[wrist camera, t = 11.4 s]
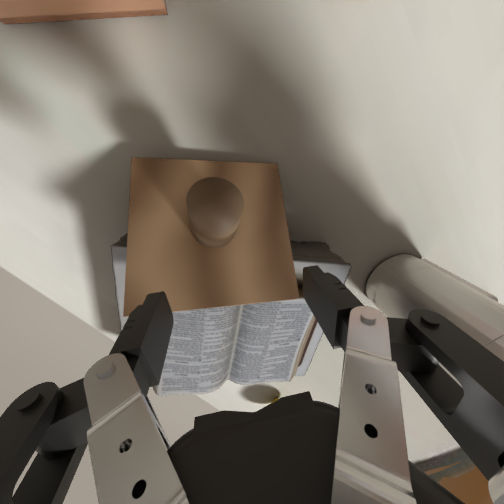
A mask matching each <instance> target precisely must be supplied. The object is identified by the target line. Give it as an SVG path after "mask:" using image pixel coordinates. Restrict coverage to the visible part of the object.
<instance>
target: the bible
mask: <svg viewBox="0 0 504 504" xmlns="http://www.w3.org/2000/svg"><path fill="white" fill-rule="evenodd" d="M127 236H128V233H127V234H126V235H124V236H123V237H121V238H120V240H119V241H118V242H117V243H115V244H113V245H112V246H111V252H112V264H113V272H114V278H115V290H116V299H117V303H118V312H119V319H120V331H121V330H123V327H124V325H125V323H126V321H127V319H128V317H123V310H124V291H125V273H126V254H127ZM290 244H291V250H292V256H293V262H294V268H295V274H296V280H297V287H298V293H299V299H294V300H284V301H275V302H265V303H256V304H246V305H236V306H227V307H217V308H207V309H198V310H188V311H178V312H172V313H173V318H174V324H173V329H172V333H171V337H170V341H169V345H168V349H167V354H166V358H165V362H164V366H163V370H162V375H161V379H160V383H159V385H156V386H152V387H153V390H154V391H155V393H156V394H157V395H158V396H167V395H180V394H206V393H210V392H213V391H215V390H217V389H219V388H220V387H221V386H222V385H223V383H224V382H225V381H226V380H231V381H232V382H234V383H236V384H240V385H253V384H259V383H268V382H289V381H291V379H292V378H293V377H294V376H304V375H305V374H306V371H307V369H308V367H309V365H310V363H311V361H312V358H313V356H314V353H315V351H316V349H317V346H318V344H319V342H320V339H321V337H322V335H323V330H322V328H321V327H320V325H319V323H318V322H317V320H316V318H315V317H314V315H313V313H312V311H311V310H310V308H309V306H308V305H307V303H306V301H305V299H304V296H303V268H304V267H309V266H315V265H318V266H319V267H320V268H321V270H322V271H323V272H324V273H327V272H329V273H331V274H333V275H334V276H336V277H337V278H338V279H339V280H340V281H341V282H342V284H345V281H346V279H347V276H348V274H349V272H350V269H351V265H350V264H348V263H345V262H344V261H343V260H342V259H341V258H340V257H339V256H337V255H336V254H334V253H332V252H331V251H330V250H329V246H328V245H327V244H326V243H321V242H301V243H299V242H295V241H290Z"/></svg>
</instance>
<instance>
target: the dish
mask: <svg viewBox="0 0 504 504" xmlns="http://www.w3.org/2000/svg"><path fill="white" fill-rule="evenodd" d="M153 15H168V13H167V8H166V3H165V0H0V21H1V22H3V23H4V24H15V23H33V22H50V21H67V20H84V19H101V18H119V17H136V16H153Z"/></svg>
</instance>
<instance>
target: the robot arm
mask: <svg viewBox="0 0 504 504" xmlns="http://www.w3.org/2000/svg"><path fill="white" fill-rule="evenodd" d="M366 294H367V296H368V298H369V299H370V300H371V301H372V302H373V303H374V304H375V305H376V306H377V307H378V308H379V309H380V310H381V311H382V312H383V313H384V314H385V315H386V316H387V317H386V316H385V315H384V314H383V313H382V312H380V311H379V310H377V309H375V308H372V307H368V306H364V305H363V304H362V303H361V302H360V301H359V300H358V299H357V298H356V297H355V296H354V295H353V294H352V293H351V291H350V290H349V289H347V287H346V286H345V285H344V284H342V282H341V281H340V280H339V279H338V278H337V277H336V276H334V275H333V274H331V273H329V272H327V273H324V272H323V271H322V270H321V268H320V267H319V266H318V265H315V266H309V267H304V268H303V296H304V299H305V301H306V303H307V305H308V306H309V308H310V310H311V311H312V313H313V315H314V317H315V318H316V320H317V322H318V323H319V325H320V327H321V328H322V330H323V332H324V334H325V335H326V337H327V339H328V340H329V342H330V344H331V346H332V347H333V349H336V348H341V347H342V349H343V350H344V352H345V353H344V360H343V369H342V378H341V387H340V396H339V403H338V408H337V407H335V406H333V405H330V404H327V403H324V402H319V401H313V400H312V397H311V395H310V392H309V391H308V392H304V393H299V394H295V395H291V396H286V397H282V398H280V399H278V400H277V401H275V402H273V403H271V404H269V405H268V406H266V407H264V408H262V409H260V410H259V411H257V412H237V411H220V412H216V413H212V414H207V415H202V416H198V417H195V421H194V429H192V430H190V431H189V432H187V433H186V434H184V435H183V436H182V437H181V438H180V439H178V440H177V441H176V442H175V443H174V444H173V445H172V446H171V444H170V442H169V440H168V438H167V436H166V434H165V432H164V430H163V428H162V426H161V424H160V422H159V419H158V417H157V415H156V413H155V411H154V409H153V407H152V405H151V403H150V400H149V398H148V397H147V393H148V390H149V387H151V386H156V385H159V383H160V379H161V375H162V370H163V366H164V362H165V358H166V354H167V349H168V345H169V341H170V337H171V333H172V329H173V324H174V318H173V313H172V310H171V307H170V305H169V302H168V299H167V296H166V294H165V292H164V291H161V292H155V293H149V294H148V295H147V296H146V298H145V301H144V303H143V304H142V305H138V306H137V307H136V308H135V309H134V310H133V311H132V312H131V313H130V315H129V317H128V319H127V321H126V323H125V325H124V327H123V330H121V332H120V334H119V336H118V338H117V340H116V342H115V344H114V346H113V348H112V350H111V352H110V354H109V355H108V356H106V357H104V358H102V359H100V360H99V361H97V362H96V363H95V364H94V365H93V366H92V367H91V368H90V369H89V370H88V371H87V373H86V375H85V377H84V378H82V379H80V380H78V381H76V382H73V383H71V384H69V385H67V386H64V387H62V388H60V389H59V387H58V386H57V385H56V384H55V383H53V382H45V383H41V384H39V385H36V386H34V387H33V388H30V389H29V390H27V391H26V392H24V393H23V394H21V395H20V396H19V397H18V398H17V399H15V400H14V401H13V403H11V405H10V406H9V407H8V408H7V409H6V410H5V412H4V413H3V414H2V416H1V417H0V504H62V503H63V501H64V499H65V496H66V494H67V492H68V489H69V487H70V484H71V482H72V480H73V477H74V475H75V472H76V470H77V468H78V466H79V463H80V461H81V458H82V456H83V454H84V451H85V449H86V447H87V444H88V446H89V451H90V457H91V463H92V469H93V474H94V480H95V485H96V491H97V497H98V502H99V504H465V503H463V502H462V501H461V500H460V499H458V498H457V497H455V496H454V495H453V494H451V493H450V492H449V491H448V490H446V489H445V488H444V487H442V486H441V485H440V484H439V483H437V482H436V481H435V480H433V479H432V478H431V477H430V476H428V475H427V474H425V473H424V472H423V471H422V470H420V469H419V468H418V467H417V466H415V465H414V464H413V463H411V462H410V461H409V460H408V455H407V446H406V437H405V429H404V420H403V412H402V403H401V395H400V386H399V378H398V371H400V372H401V373H402V375H403V376H404V377H405V378H406V380H407V381H408V382H409V383H410V385H411V386H412V387H413V388H414V389H415V391H416V392H417V393H418V394H419V396H420V397H421V398H422V399H423V401H424V402H425V403H426V404H427V406H428V407H429V408H430V409H431V411H432V412H433V413H434V414H435V415H436V417H437V418H438V419H439V420H440V422H441V423H442V424H443V425H444V427H445V428H446V429H447V430H448V432H449V433H450V434H451V435H452V437H453V438H454V439H455V440H456V441H457V443H458V444H459V445H460V446H461V448H462V449H463V450H464V451H465V453H466V454H467V455H468V456H469V458H470V459H471V460H472V461H473V463H474V464H475V465H476V466H477V467H478V469H479V470H480V471H481V472H482V474H483V475H484V476H485V477H486V479H487V480H488V481H489V492H490V496H491V498H492V501H493V503H494V504H504V305H502V304H500V303H498V299H497V298H496V297H495V296H494V295H492V294H490V293H488V292H486V291H484V290H483V289H481V288H479V287H477V286H475V285H473V284H471V283H469V282H467V281H466V280H464V279H462V278H460V277H458V276H456V275H454V274H452V273H451V272H449V271H447V270H445V269H443V268H441V267H439V266H437V265H436V264H434V263H432V262H430V261H428V260H426V259H418V258H417V257H415V256H412V255H408V254H402V255H397V256H394V257H391V258H389V259H387V260H386V261H384V262H383V263H381V264H380V265H379V266H378V267H377V268H376V269H375V270H374V271H373V272H372V274H371V275H370V277H369V279H368V281H367V285H366ZM35 451H37V452H38V454H37V456H36V457H35V459H34V461H33V463H32V464H31V466H30V468H29V470H28V471H27V473H26V475H25V477H24V478H23V480H22V482H21V483H20V485H19V487H18V489H17V490H16V492H15V494H14V496H13V497H12V495H13V490H14V487H15V484H16V482H17V481H18V479H19V477H20V475H21V474H22V472H23V470H24V468H25V466H26V465H27V463H28V462H29V460H30V458H31V457H32V455H33V453H34V452H35Z"/></svg>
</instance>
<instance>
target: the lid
mask: <svg viewBox="0 0 504 504" xmlns="http://www.w3.org/2000/svg"><path fill="white" fill-rule="evenodd" d="M161 291H164V292H165V294H166V296H167V299H168V302H169V305H170V307H171V310H172V312H178V311H188V310H198V309H207V308H217V307H227V306H236V305H246V304H256V303H265V302H275V301H284V300H294V299H299V293H298V287H297V280H296V274H295V268H294V262H293V256H292V250H291V244H290V238H289V232H288V226H287V220H286V214H285V208H284V201H283V195H282V189H281V183H280V177H279V171H278V165H277V164H271V163H249V162H227V161H205V160H183V159H161V158H138V157H132V161H131V180H130V199H129V217H128V236H127V254H126V273H125V291H124V310H123V317H129V315H130V313H131V312H132V311H133V310H134V309H135V308H136V307H137V306H138V305H142V304H143V303H144V301H145V298H146V296H147V295H148V294H149V293H155V292H161Z"/></svg>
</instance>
